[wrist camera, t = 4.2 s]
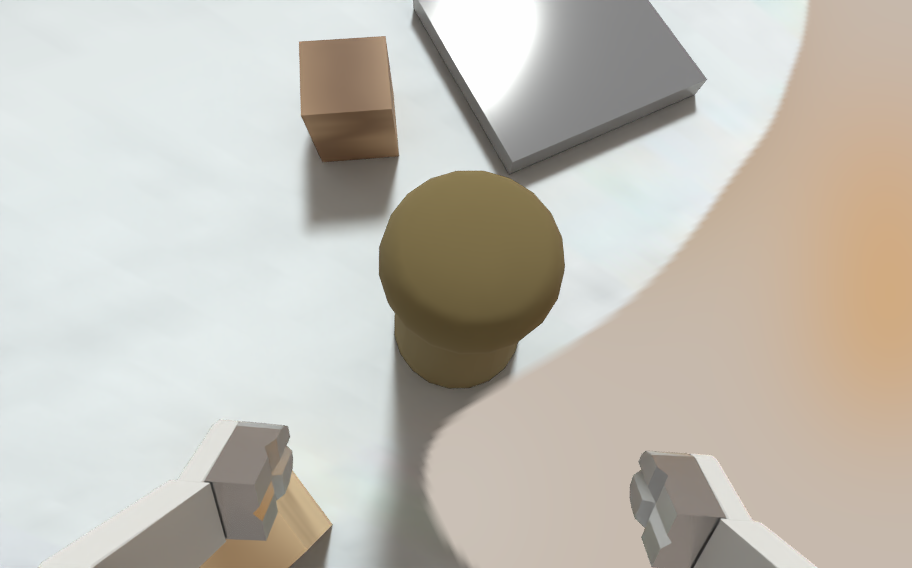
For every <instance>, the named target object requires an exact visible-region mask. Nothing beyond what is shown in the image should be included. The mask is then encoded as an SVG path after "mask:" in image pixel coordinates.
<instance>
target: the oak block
mask: <svg viewBox="0 0 912 568" xmlns="http://www.w3.org/2000/svg"><path fill="white" fill-rule="evenodd" d="M276 503H277V510H278V513H277V516H276V518H275V520H274V523H273V525H272V528H271V530H270V533H269V535H268V538H267V540H266V541H259V540H234V539H226V542H225V543H224V544H223V545H222V546H221V547H220V548H219V549H218V550H217V551H216V552H215V553H214V554H213V555H212V556H211V557H210V558H209V559H207V560H206V561H205V562H204V563H203V564H202V565H201V566H200V567H199V568H289V567H290V566H291V565H292V564H293V563H294V562H295V561H296V560H297V559H299V558H300V557H301V556H302V555H303V554H304V553H305V552H306V551H307V550H308V549H309V548H310V547H311V546H312V545H313V544H314V543H315V542H316V541H317V540H318V539H319V538H320V537H321V536H322V535H323V534H324V533H325V532H326V531H327V530H328V529H329V528H330V527H331V526H332V523H331V522H330V520H329V519H328V518H327V516H326V515H325V514H324V512H323V511H322V510H321V508H320V507H319V506H318V504H317V503H316V502H315V500H314V499H313V498H312V496H311V495H310V494H309V492H308V491H307V490H306V488H305V487H304V486H303V484H302V483H301V482H300V480H299V479H298V477H297V476H296V475H295V473H294V472H293V471H292V473H291V478H290V482H289V485H288V488H287V490H286V493H285V494H284V495H283V496H282V497H280V498H279V499H278V500H277V501H276Z"/></svg>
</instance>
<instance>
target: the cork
mask: <svg viewBox="0 0 912 568" xmlns="http://www.w3.org/2000/svg"><path fill="white" fill-rule="evenodd" d="M564 268H565V262H564V252H563V242H562V236H561V234H560V232H559V230H558V227H557V225H556V223H555V221H554V218H553V216H552V214H551V212H550V211H549V210H548V209H547V208H546V207H545V206H544V204H543V203H542V202H541V201H540V200H539V199H538V198H537V196H536V195H535V194H534V193H533V192H531V191H530V190H528V189H526V188H525V187H523V186H522V185H520V184H518V183H517V182H515V181H514V180H512V179H510V178H507V177H504V176H500V175H497V174H493V173H490V172H486V171H455V172H451V173H448V174H445V175H441V176H438V177H435V178H431V179H429V180H428V181H426V182H425V183H423V184H422V185H420V186H419V187H417V188H416V189H414V190H413V191H411V192H410V193H408V194H407V195H406V197H405V198H404V199H403V200H402V202H401V203H400V204H399V205H398V207H397V208H396V209H395V210H394V212H393V213H392V214H391V216H390V219H389V222H388V224H387V227H386V230H385V233H384V235H383V238H382V241H381V244H380V246H379V276H380V279H381V282H382V286H383V289H384V292H385V295H386V298H387V301H388V303H389V305H390V307H391V308H392V310H393V311H394V312H395V338H396V342H397V345H398V348H399V351H400V354H401V356H402V357H403V358H404V360H405V361H406V362H407V364H408V365H409V366H410V368H411V369H412V371H414V372H415V373H417V374H418V375H419V376H421V377H422V378H424V379H425V380H426V381H428V382H429V383H433V384H436V385H439V386H442V387H446V388H471V387H474V386H476V385H479V384H482V383H485V382H487V381H489V380H491V379H492V378H493V377H494V376H496V375H497V374H498V373H499V372H501V371H502V370H503V369H504V368H505V367H506V365H507V364H508V362H509V361H510V359H511V358H512V356H513V354H514V353H515V351H516V347H517V343H518V342H519V341H520V340H521V339H522V338H524V337H525V336H526V335H527V334H529V333H530V332H531V331H533V330H534V329H535V328H536V327H538V326H539V325H540V324H541V323H543V321H544V319H545V318H546V316H547V315H548V313H549V312H550V310H551V309H552V307H553V305H554V304H555V302H556V301H557V299H558V296H559V292H560V287H561V283H562V279H563V275H564Z"/></svg>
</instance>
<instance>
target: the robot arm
mask: <svg viewBox="0 0 912 568" xmlns="http://www.w3.org/2000/svg"><path fill="white" fill-rule="evenodd" d="M289 438H290V434H289V429H288V426H285V425H276V424H266V423H256V422H245V421H232V420H221V419H220V420H218V421H217V422H216V423H214V424H213V425H212V427H211V428H210V430H209V431H208V433H207V435H206V436H205V438H204V439H203V441H202V442H201V444H200V445H199V447H198V448H197V450H196V451H195V453H194V454H193V456H192V457H191V459H190V461H189V462H188V464H187V465H186V467H185V468H184V470H183V471H182V473H181V474H180V476H179V477H178V479H177V480H169V481H167V482H166V483H164V484H163V485H161V486H159V487H158V488H156V489H155V490H153V491H152V492H150V493H149V494H147V495H146V496H144V497H142V498H141V499H139V500H138V501H136V502H135V503H133V504H132V505H130V506H128V507H127V508H125V509H124V510H122V511H121V512H119V513H118V514H116V515H115V516H113V517H111V518H110V519H108V520H107V521H105V522H104V523H102V524H101V525H99V526H97V527H96V528H94V529H93V530H91V531H90V532H88V533H87V534H85V535H84V536H82V537H80V538H79V539H77V540H76V541H74V542H73V543H71V544H70V545H68V546H67V547H65V548H63V549H62V550H60V551H59V552H57V553H56V554H54V555H53V556H51V557H49V558H48V559H46V560H45V561H43V562H42V563H41V564H40V565H39V566H38V568H199V567H200V566H201V565H202V564H203V563H204V562H205V561H206V560H207V559H209V558H210V557H211V556H212V555H213V554H214V553H215V552H216V551H217V550H218V549H219V548H220V547H221V546H222V545H223V544H224V543H225V542H226V539H234V540H259V541H266V540H267V538H268V535H269V533H270V530H271V528H272V525H273V523H274V520H275V518H276V516H277V513H278V510H277V503H276V501H277V500H278V499H279V498H280V497H282V496H283V495H284V494H285V493H286V490H287V488H288V485H289V482H290V478H291V473H292V469H293V455H292V450H291V449H290V448H289V447H287V446H286V445H287V443H288V441H289ZM639 464H640V467H641V470H640V471H639V472H637V473H636V474H634V476H633V478H632V481H631V484H630V502H631V508H632V511H633V514H634V517H635V519H636V520H637V521H638V522H639V523H640V524H641V525H642V526H643V527H644V528H645V529H644V532H643V534H642V537H641V538H642V541H643V544H644V546H645V549H646V552H647V555H648V558H649V561H650V564H651V567H654V568H818V567H816V566H815V565H814V564H813V563H811V562H810V561H809V560H808V559H806V558H805V557H804V556H802V555H801V554H800V553H799V552H798V551H796V550H795V549H794V548H793V547H791V546H790V545H789V544H788V543H786V542H785V541H784V540H783V539H781V538H780V537H779V536H777V535H776V534H775V533H774V532H773V531H771V530H770V529H769V528H767V527H766V526H765V525H764V524H762V523H761V522H759V521H753V520H752V518H751V516H750V515H749V513H748V511H747V510H746V508H745V506H744V504H743V503H742V501H741V499H740V498H739V496H738V494H737V493H736V491H735V489H734V487H733V486H732V484H731V482H730V481H729V479H728V477H727V476H726V474H725V472H724V470H723V469H722V467H721V465H720V464H719V462H718V460H717V459H716V458H715V457H714V456H712V455H701V454H687V453H673V452H657V451H645V452H644V453H643V454H642V455H641V457H640V460H639Z"/></svg>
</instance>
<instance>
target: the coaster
mask: <svg viewBox="0 0 912 568" xmlns="http://www.w3.org/2000/svg"><path fill="white" fill-rule="evenodd" d="M413 7H414V10H415V12H416V13H417V15H418V17H419V19H420V20H421V22H422V24H423V26H424V27H425V29H426V31H427V32H428V34H429V36H430V38H431V39H432V41H433V43H434V45H435V46H436V48H437V50H438V52H439V53H440V55H441V57H442V59H443V60H444V62H445V64H446V65H447V67H448V69H449V71H450V72H451V74H452V76H453V78H454V79H455V81H456V83H457V85H458V86H459V88H460V90H461V92H462V93H463V95H464V97H465V98H466V100H467V102H468V104H469V105H470V107H471V109H472V111H473V112H474V114H475V116H476V118H477V119H478V121H479V123H480V125H481V126H482V128H483V130H484V131H485V133H486V135H487V137H488V138H489V140H490V142H491V144H492V145H493V147H494V149H495V151H496V152H497V154H498V156H499V158H500V159H501V161H502V163H503V164H504V166H505V168H506V170H507V171H508V173H509V174H511V173H513V172H516V171H518V170H520V169H523V168H525V167H527V166H530V165H532V164H534V163H537V162H539V161H541V160H544V159H546V158H548V157H551V156H553V155H555V154H558V153H560V152H562V151H564V150H567V149H569V148H571V147H574V146H576V145H578V144H581V143H583V142H585V141H588V140H590V139H592V138H595V137H597V136H599V135H602V134H604V133H606V132H609V131H611V130H613V129H616V128H618V127H620V126H623V125H625V124H627V123H630V122H632V121H634V120H636V119H639V118H641V117H643V116H646V115H648V114H650V113H653V112H655V111H657V110H660V109H662V108H664V107H667V106H669V105H671V104H674V103H676V102H678V101H681V100H683V99H685V98H688V97H690V96H692V95H695V94H696V93H697V91H698V90H699V89H700V88H701V86H702V85H703V84H704V83H705V81H706V80H707V79H706V77H705V76H704V75H703V73H702V72H701V71H700V69H699V68H698V67H697V65H696V64H695V63H694V61H693V60H692V58H691V57H690V56H689V54H688V53H687V52H686V50H685V49H684V48H683V46H682V45H681V44H680V42H679V41H678V40H677V38H676V37H675V36H674V34H673V33H672V31H671V30H670V29H669V27H668V26H667V25H666V23H665V22H664V21H663V19H662V18H661V17H660V15H659V14H658V13H657V11H656V10H655V9H654V7H653V6H652V4H651V3H650V2H649V0H413Z"/></svg>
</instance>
